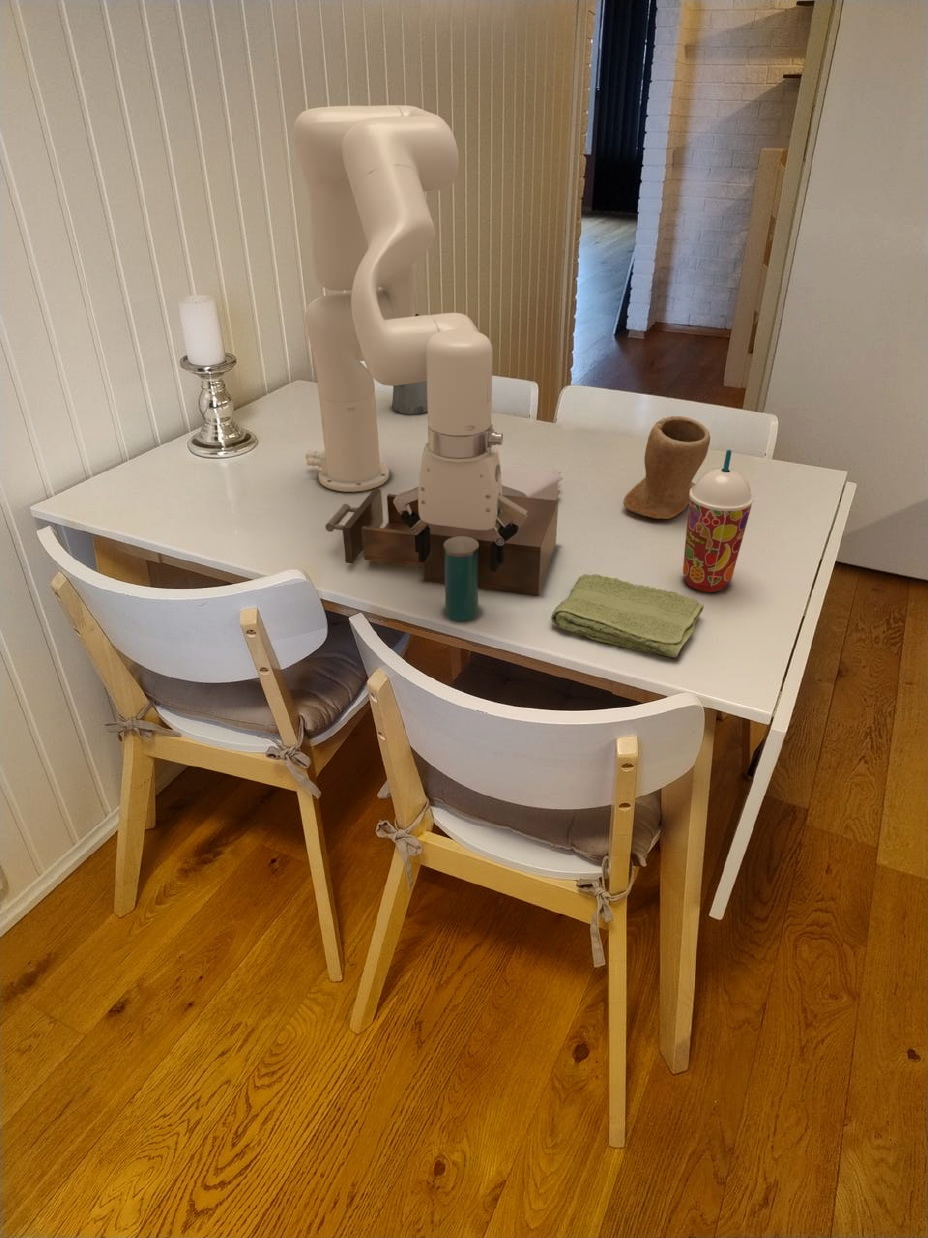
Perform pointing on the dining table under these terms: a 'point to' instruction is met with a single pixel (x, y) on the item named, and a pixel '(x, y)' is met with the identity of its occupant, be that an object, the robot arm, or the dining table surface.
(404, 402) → the moka pot
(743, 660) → the dining table surface
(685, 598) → the washcloth
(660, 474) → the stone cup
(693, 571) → the smoothie
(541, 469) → the open book
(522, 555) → the cabinet
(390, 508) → the drawer
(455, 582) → the tin
